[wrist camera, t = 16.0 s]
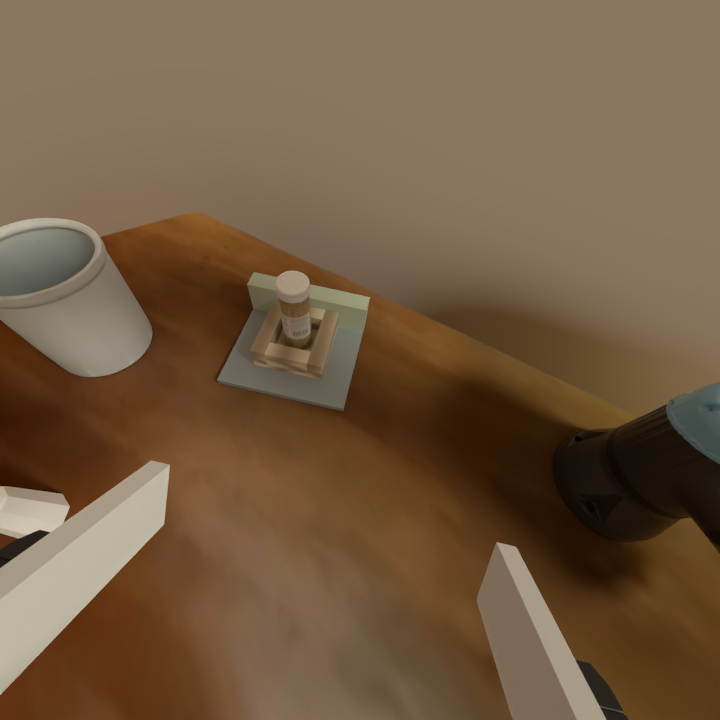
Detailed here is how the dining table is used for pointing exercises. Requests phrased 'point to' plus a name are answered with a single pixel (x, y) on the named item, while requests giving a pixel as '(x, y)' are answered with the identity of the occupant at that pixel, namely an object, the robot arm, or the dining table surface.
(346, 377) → the backstop board
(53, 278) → the utensil holder
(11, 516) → the pepper shaker
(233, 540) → the dining table surface
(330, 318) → the socket block
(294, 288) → the sprinkles bottle
